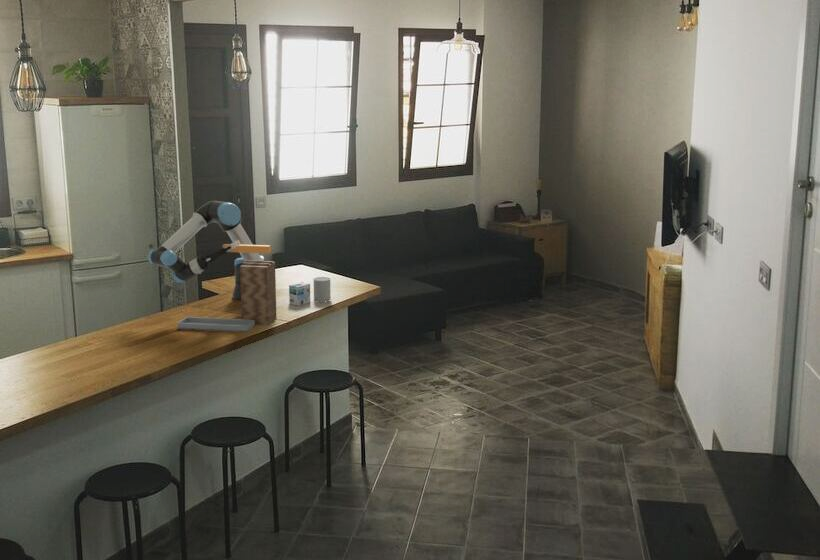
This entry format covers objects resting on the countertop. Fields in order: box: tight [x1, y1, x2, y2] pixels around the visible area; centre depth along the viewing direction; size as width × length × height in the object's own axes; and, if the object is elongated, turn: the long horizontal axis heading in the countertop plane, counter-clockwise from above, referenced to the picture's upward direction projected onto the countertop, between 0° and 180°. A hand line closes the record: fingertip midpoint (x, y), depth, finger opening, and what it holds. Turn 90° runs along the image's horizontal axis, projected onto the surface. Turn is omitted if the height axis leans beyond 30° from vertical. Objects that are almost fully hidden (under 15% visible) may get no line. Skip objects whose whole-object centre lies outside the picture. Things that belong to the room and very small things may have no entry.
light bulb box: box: [288, 281, 311, 306], centre depth 485 cm, size 11×7×11 cm, turn 143°
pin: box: [222, 243, 272, 254], centre depth 442 cm, size 24×4×4 cm, turn 82°
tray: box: [176, 316, 256, 333], centre depth 437 cm, size 36×12×3 cm, turn 82°
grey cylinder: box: [312, 276, 332, 303], centre depth 492 cm, size 10×10×12 cm
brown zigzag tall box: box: [240, 260, 277, 326], centre depth 446 cm, size 14×14×31 cm
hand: (237, 242), depth 442 cm, fingers closed on pin, 3 cm apart
